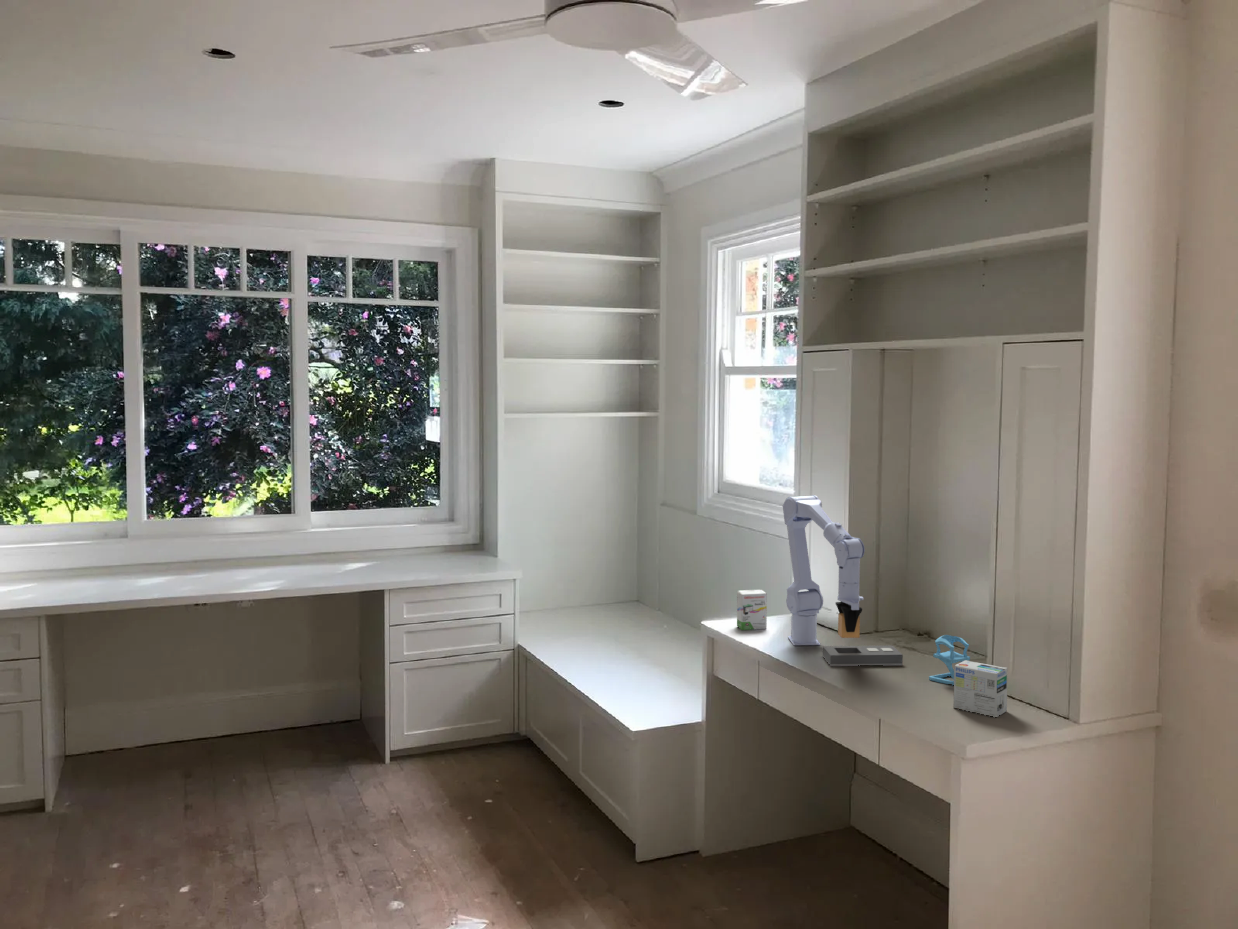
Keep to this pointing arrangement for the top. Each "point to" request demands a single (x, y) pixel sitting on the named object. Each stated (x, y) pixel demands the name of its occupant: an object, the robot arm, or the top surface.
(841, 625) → the plug block
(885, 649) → the power strip
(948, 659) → the chair
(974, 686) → the light bulb box
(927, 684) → the top surface
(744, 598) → the ink box
